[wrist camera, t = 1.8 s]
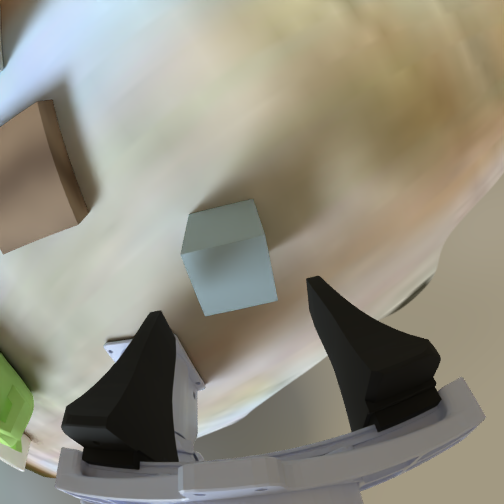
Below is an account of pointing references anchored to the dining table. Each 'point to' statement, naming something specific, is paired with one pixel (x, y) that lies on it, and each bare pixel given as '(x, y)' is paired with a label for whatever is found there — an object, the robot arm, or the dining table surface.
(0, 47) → the supplement box
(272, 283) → the pale grey block
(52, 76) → the dining table surface
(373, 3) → the dining table surface
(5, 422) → the teapot
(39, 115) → the walnut slab
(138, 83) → the dining table surface
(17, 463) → the cup
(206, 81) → the dining table surface
